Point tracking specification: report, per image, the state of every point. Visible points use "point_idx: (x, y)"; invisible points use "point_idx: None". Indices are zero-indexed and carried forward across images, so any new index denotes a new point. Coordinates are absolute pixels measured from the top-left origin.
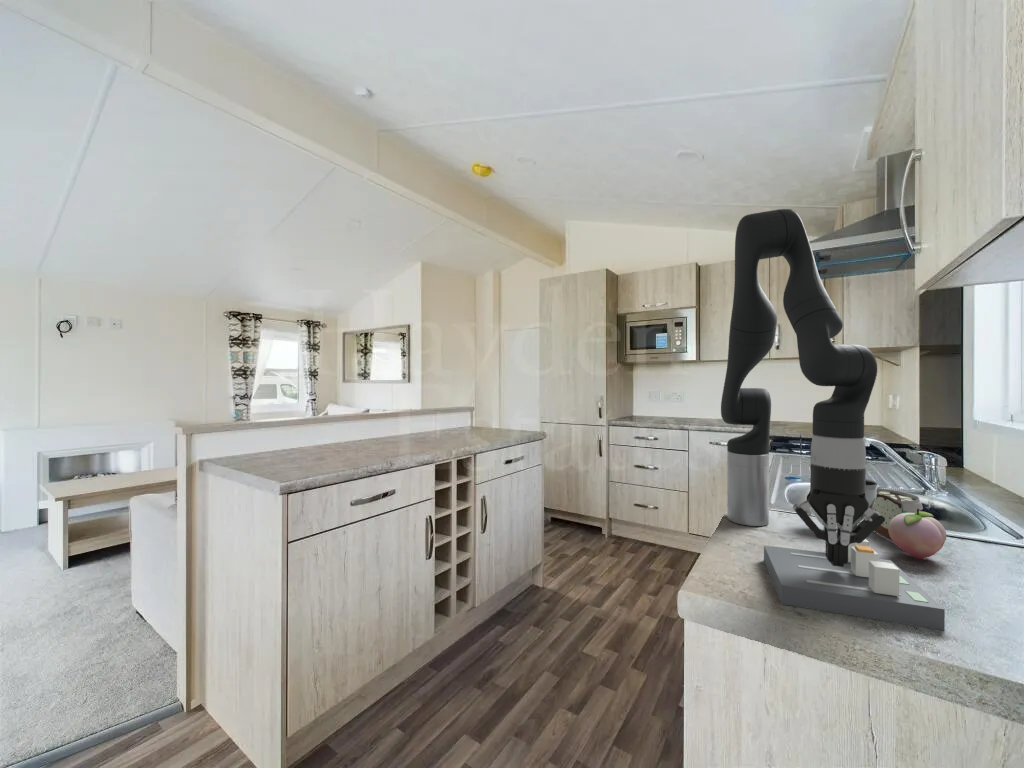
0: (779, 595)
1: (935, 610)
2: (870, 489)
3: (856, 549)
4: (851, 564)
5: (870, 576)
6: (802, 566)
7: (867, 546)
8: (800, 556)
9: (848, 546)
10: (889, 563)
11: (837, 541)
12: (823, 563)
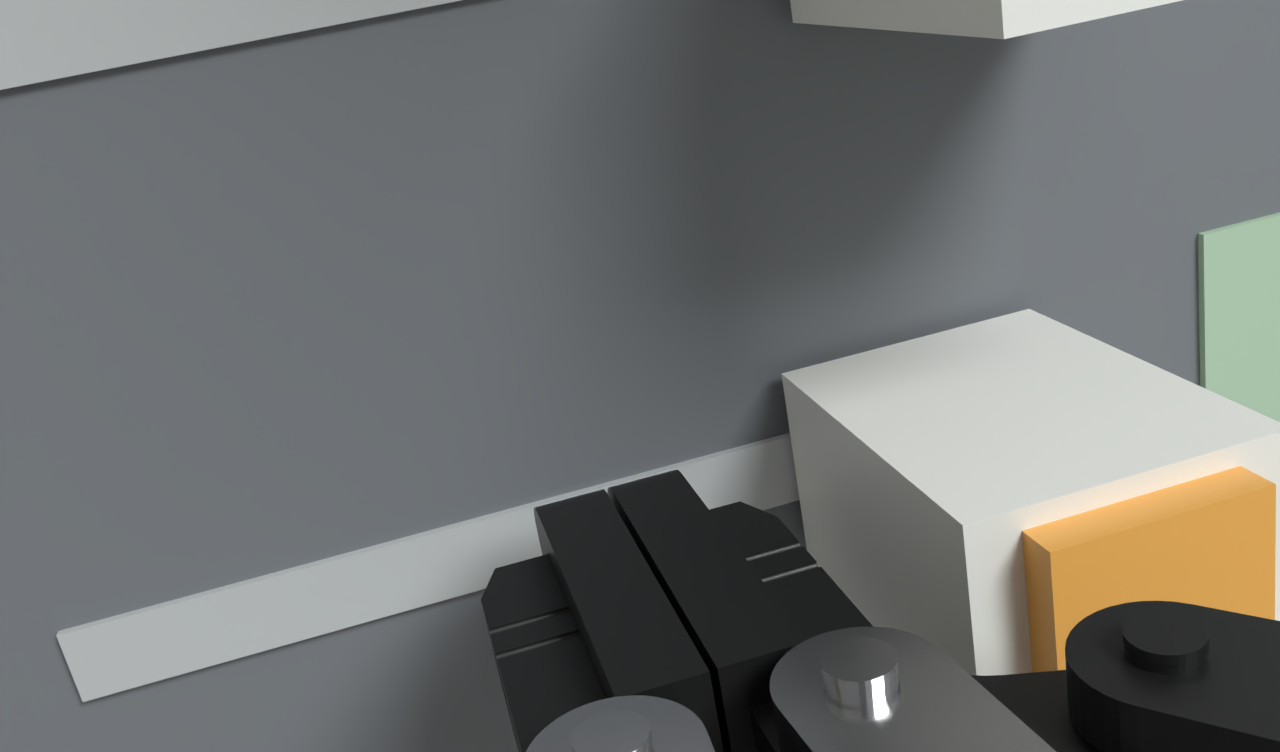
0: None
1: None
2: None
3: (1021, 650)
4: (823, 444)
5: None
6: (133, 650)
7: (1245, 496)
8: (34, 121)
9: (927, 26)
10: None
11: (761, 749)
12: (427, 269)
